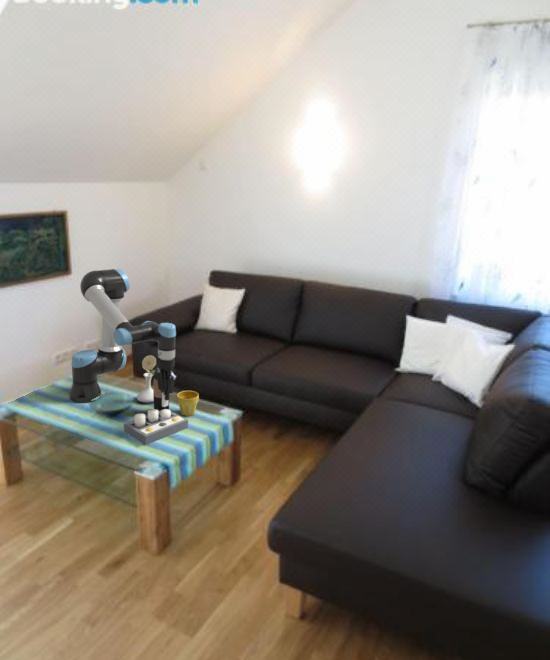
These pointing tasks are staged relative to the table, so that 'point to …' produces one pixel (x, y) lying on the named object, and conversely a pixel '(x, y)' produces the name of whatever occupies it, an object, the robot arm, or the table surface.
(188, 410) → the plant pot
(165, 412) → the button
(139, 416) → the button
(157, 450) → the table surface
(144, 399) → the flower in vase
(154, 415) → the button
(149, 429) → the strip
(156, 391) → the travel mug
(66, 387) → the table surface
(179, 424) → the tray
